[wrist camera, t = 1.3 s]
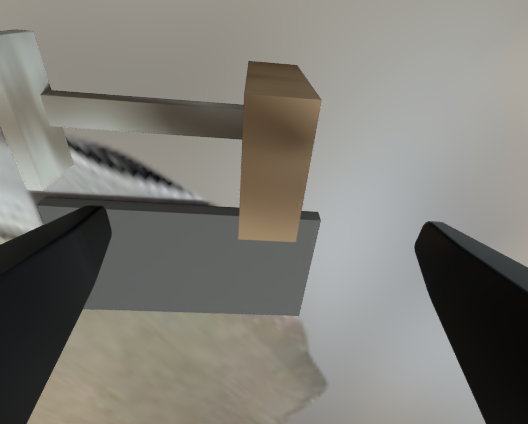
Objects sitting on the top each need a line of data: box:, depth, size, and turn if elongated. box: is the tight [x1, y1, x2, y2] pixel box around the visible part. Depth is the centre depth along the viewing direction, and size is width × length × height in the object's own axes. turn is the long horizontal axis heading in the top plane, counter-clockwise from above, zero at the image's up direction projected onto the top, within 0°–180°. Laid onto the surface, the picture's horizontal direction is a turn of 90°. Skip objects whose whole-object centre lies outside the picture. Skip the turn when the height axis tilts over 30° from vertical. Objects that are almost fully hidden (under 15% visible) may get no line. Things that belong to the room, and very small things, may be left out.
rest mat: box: [37, 197, 321, 316], centre depth 23 cm, size 10×18×1 cm, turn 85°
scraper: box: [0, 30, 321, 242], centre depth 14 cm, size 7×14×7 cm, turn 85°
